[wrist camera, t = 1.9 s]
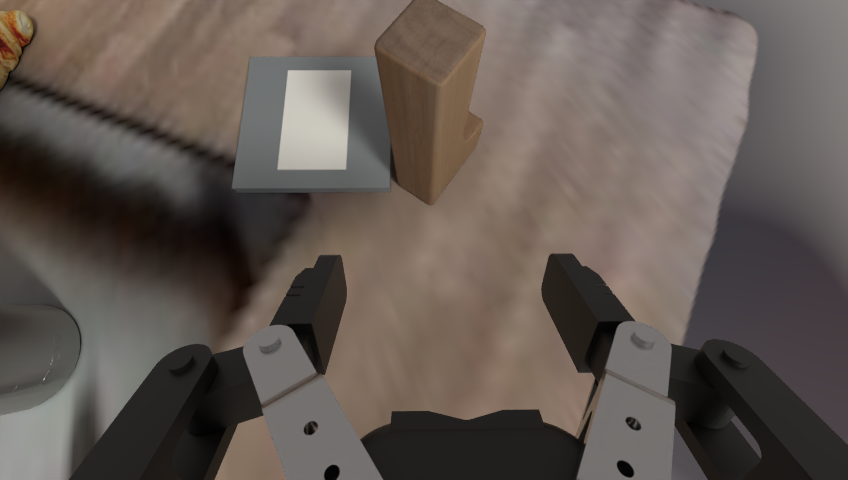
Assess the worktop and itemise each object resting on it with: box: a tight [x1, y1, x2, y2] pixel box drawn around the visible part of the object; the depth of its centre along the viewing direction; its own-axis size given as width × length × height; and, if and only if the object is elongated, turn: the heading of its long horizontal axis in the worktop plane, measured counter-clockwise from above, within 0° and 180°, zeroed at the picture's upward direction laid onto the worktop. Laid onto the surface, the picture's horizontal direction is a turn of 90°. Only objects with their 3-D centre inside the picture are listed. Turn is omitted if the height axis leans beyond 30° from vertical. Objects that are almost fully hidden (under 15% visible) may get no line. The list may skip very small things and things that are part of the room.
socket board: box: [232, 57, 391, 193], centre depth 35 cm, size 16×16×1 cm
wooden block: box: [374, 0, 486, 205], centre depth 26 cm, size 9×4×18 cm, turn 145°
